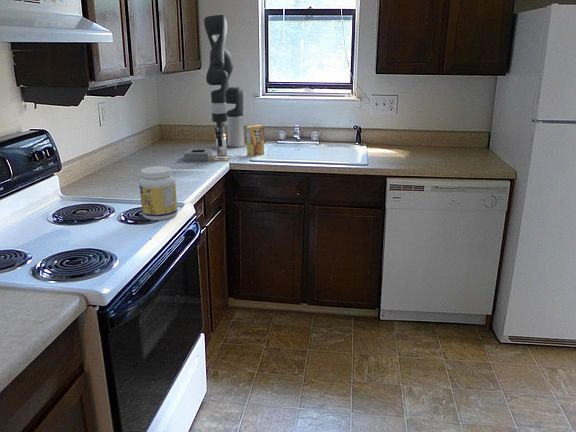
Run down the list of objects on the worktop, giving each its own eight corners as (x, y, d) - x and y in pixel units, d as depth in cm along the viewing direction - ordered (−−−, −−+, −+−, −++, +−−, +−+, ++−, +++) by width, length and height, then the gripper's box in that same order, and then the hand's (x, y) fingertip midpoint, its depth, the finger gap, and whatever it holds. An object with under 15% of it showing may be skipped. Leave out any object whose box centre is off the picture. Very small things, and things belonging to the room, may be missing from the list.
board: (190, 157, 274) (190, 155, 274) (231, 157, 273) (231, 155, 272) (184, 163, 262) (184, 161, 261) (227, 163, 261) (227, 161, 260)
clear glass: (217, 154, 269) (216, 133, 265) (228, 154, 269) (226, 133, 265) (215, 157, 264) (214, 135, 260) (226, 156, 263) (224, 135, 260)
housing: (189, 156, 273) (189, 148, 272) (212, 156, 273) (211, 148, 271) (184, 161, 262) (183, 153, 261) (208, 161, 261) (207, 153, 260)
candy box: (260, 152, 284) (259, 124, 279) (264, 153, 281) (264, 125, 276) (246, 155, 279) (245, 126, 274) (251, 156, 276) (250, 127, 271)
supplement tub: (135, 217, 184) (130, 170, 178) (163, 208, 193) (158, 163, 187) (157, 224, 177) (153, 175, 171) (185, 214, 186) (181, 168, 180)
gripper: (214, 110, 266) (216, 142, 271) (208, 113, 252) (211, 148, 258) (228, 109, 265) (230, 142, 271) (224, 113, 252) (226, 148, 258)
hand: (221, 145), depth 264 cm, fingers closed on clear glass, 5 cm apart
